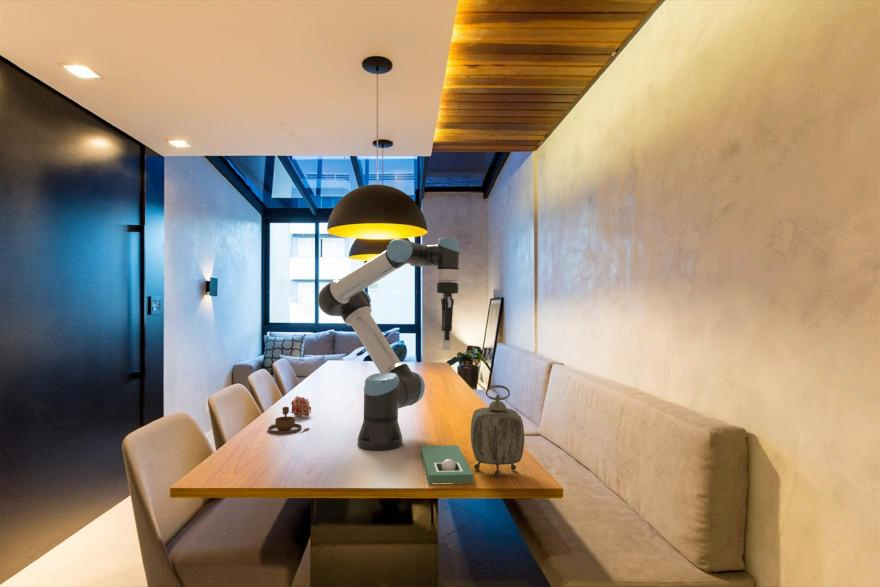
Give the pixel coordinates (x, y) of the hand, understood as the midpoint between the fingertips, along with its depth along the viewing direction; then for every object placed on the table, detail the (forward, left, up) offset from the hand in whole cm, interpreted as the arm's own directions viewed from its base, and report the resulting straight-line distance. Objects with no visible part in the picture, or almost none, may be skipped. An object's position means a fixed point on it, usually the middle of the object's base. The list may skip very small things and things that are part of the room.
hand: (446, 349), depth 160 cm
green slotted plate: (-3, -24, -32) cm, 40 cm away
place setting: (-56, +23, -33) cm, 69 cm away
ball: (-3, -30, -30) cm, 43 cm away
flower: (-55, +40, -33) cm, 75 cm away
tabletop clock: (+11, -30, -33) cm, 46 cm away
